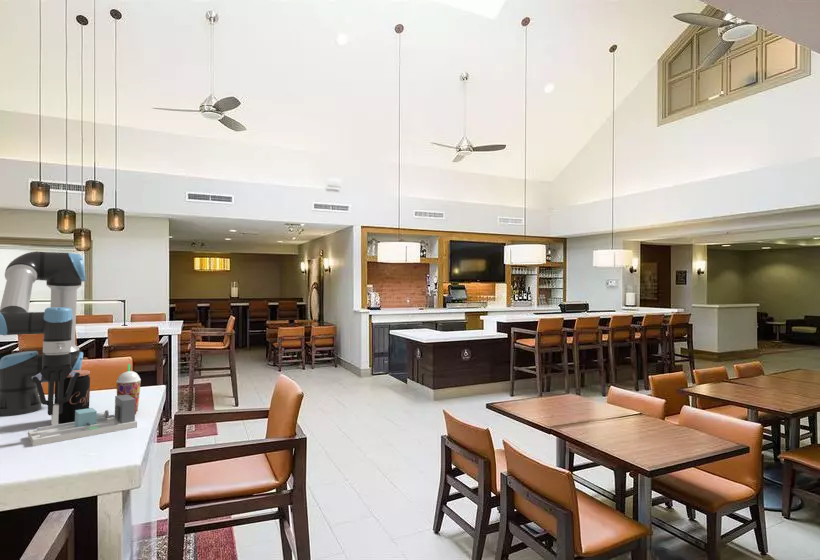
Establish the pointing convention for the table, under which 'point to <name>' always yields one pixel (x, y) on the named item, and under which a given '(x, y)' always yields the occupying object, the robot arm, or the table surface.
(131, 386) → the smoothie
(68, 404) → the coffee jar
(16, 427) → the table surface
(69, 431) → the board
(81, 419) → the gauge slider
